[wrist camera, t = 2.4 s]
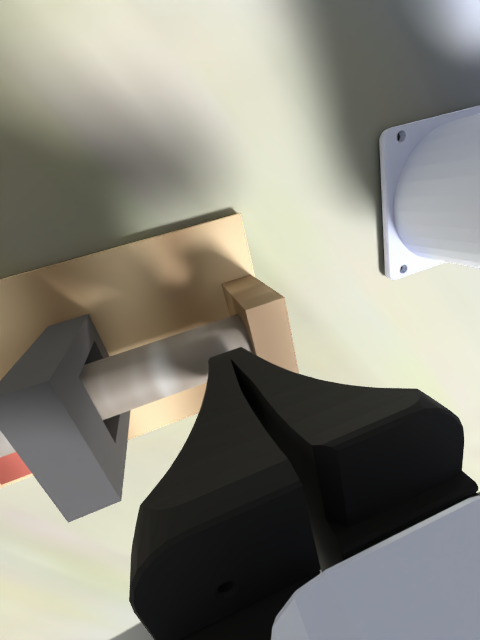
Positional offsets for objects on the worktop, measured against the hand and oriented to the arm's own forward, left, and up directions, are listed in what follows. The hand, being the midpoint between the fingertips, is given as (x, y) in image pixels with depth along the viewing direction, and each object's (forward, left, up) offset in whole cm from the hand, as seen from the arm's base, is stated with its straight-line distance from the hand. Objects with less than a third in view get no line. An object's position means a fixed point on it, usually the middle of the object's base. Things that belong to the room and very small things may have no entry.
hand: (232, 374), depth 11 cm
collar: (+6, 0, -6) cm, 8 cm away
